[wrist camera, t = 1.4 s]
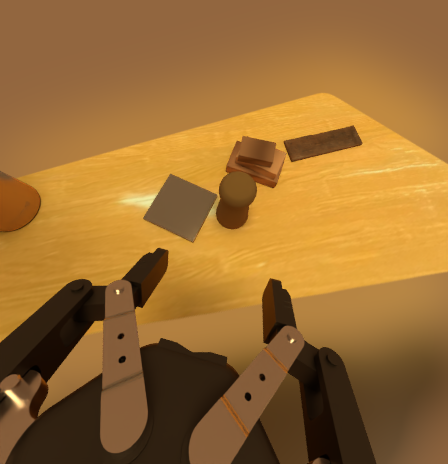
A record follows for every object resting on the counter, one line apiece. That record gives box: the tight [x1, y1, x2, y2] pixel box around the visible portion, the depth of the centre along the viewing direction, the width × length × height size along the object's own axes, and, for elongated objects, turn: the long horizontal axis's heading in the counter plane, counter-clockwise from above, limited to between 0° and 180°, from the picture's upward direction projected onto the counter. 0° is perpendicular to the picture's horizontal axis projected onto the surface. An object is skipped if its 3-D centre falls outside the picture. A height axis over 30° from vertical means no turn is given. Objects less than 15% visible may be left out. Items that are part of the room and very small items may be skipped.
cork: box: [216, 171, 257, 229], centre depth 29 cm, size 6×6×11 cm
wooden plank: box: [284, 126, 362, 162], centre depth 39 cm, size 17×1×5 cm
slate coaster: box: [143, 174, 217, 242], centre depth 33 cm, size 10×10×1 cm
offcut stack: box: [226, 136, 287, 188], centre depth 34 cm, size 10×6×5 cm, turn 70°
